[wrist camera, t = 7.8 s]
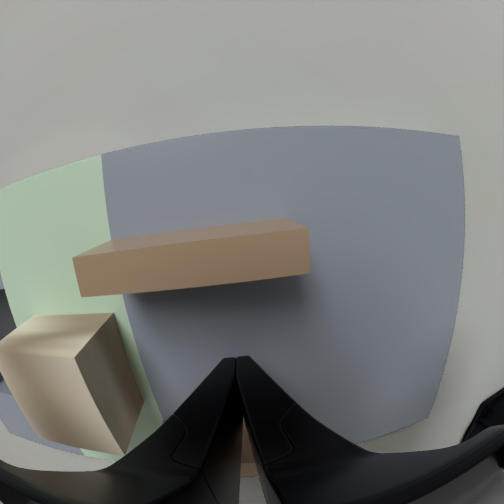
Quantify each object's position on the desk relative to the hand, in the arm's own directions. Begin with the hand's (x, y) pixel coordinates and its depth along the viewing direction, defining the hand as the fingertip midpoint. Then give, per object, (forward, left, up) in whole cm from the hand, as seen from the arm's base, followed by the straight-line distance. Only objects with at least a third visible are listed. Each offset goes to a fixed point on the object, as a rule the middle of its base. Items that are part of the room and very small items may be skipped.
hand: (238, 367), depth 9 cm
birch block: (+6, 0, -1) cm, 6 cm away
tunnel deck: (+4, 0, -3) cm, 4 cm away
